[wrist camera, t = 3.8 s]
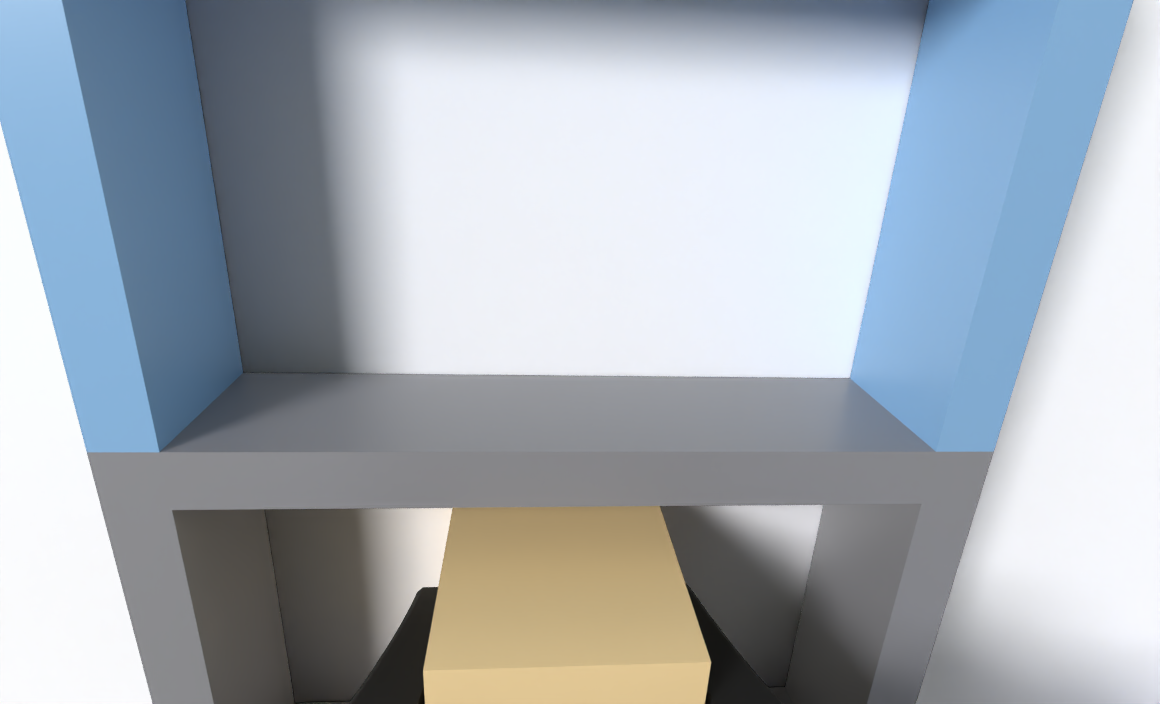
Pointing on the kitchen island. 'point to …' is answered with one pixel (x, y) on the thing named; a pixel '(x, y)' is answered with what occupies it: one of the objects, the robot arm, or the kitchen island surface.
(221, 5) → the kitchen island surface
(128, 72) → the two-compartment tray
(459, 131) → the kitchen island surface
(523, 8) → the kitchen island surface
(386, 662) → the robot arm
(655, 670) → the sand colored cube
